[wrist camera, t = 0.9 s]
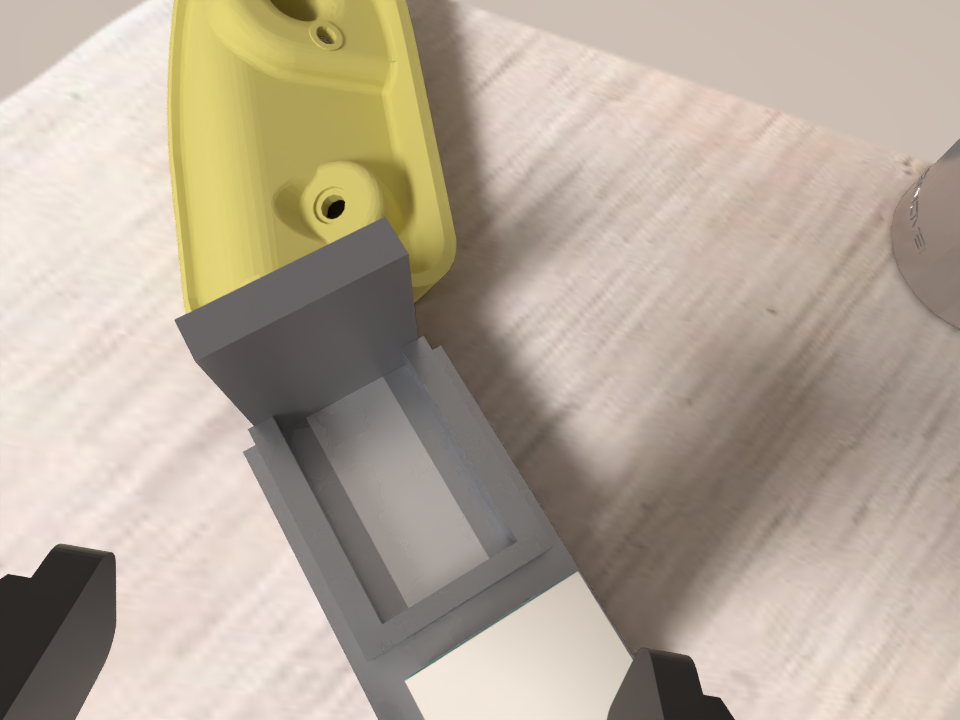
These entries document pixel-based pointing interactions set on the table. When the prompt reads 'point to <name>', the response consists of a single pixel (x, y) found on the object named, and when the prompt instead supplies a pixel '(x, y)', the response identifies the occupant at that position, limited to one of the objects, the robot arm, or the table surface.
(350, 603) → the rail plate
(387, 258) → the end stop
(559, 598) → the block
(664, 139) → the table surface
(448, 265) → the plastic component
